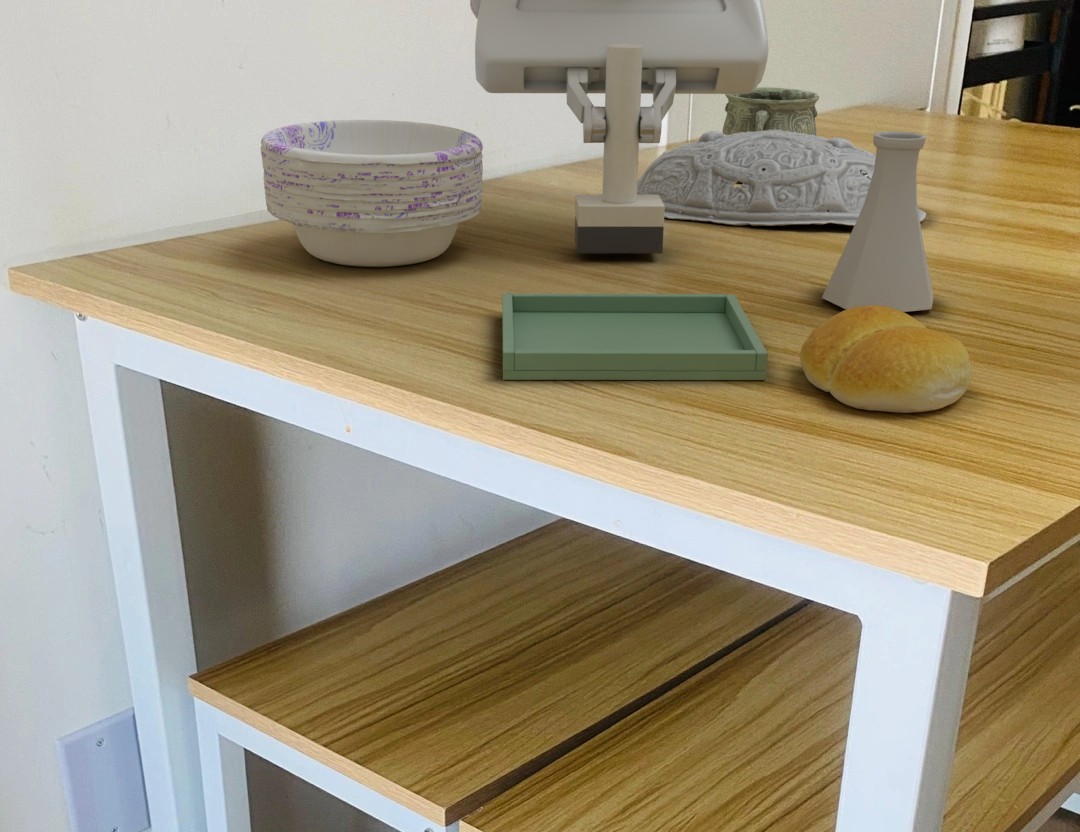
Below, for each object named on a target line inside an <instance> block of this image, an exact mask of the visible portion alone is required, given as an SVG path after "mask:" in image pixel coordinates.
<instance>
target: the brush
mask: <svg viewBox="0 0 1080 832" xmlns="http://www.w3.org/2000/svg"><path fill="white" fill-rule="evenodd" d="M642 54H643V46H642V45H638V44H609V45H607V55H606V90H605V93H604V96H605V97H604V99H605V100H604V107H605V111H606V117H605V120H606V135H605V143H603V161H602V162H603V165H602V166H603V168H602V194H575V196H574V197H575V198H574V199H575V200H574V201H575V205H574V215H575V216H574V243H575V248H576V252H577V254H662V253H663V247H664V229H665V228H664V227H665V217H664V212H665V206H664V204H663V202H662V200H661V198H660V196H659V195H637V182H638V175H639V174H638V173H639V152H640V151H639V148H640V143H639V126H640V107H641V98H642V94H641V78H642Z"/></svg>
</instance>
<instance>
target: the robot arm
mask: <svg viewBox="0 0 1080 832" xmlns="http://www.w3.org/2000/svg"><path fill="white" fill-rule="evenodd" d="M469 7H470V10H471V12H472V14H473V16H474V17H475V18H476V19H477V21H476V30H475V41H474V69H475V80H476V82H477V83H478V84H479V85H480V86H481V87H482V89H483V90H484V91H485V92H486V93H490V94H566V95H565V96H566V105H567V106H568V108H569V109H570V110H571V111H572V113H573V114H574V116H575V117H576V118H577V120H578V121H579V123H580V124H582V142H583V144H602V143H603V144H604V143H605V135H606V120H605V117H606V111H605V106H595V105H594V104H593V102H592V101H591V99H590V97H589V96H588V94H605V90H606V55H607V45H609V44H638V45H642V46H643V54H642V78H641V95H643V94H644V95H646V94H649V95H650V94H651V95H652V102H653V103H652V104H651V106H640V126H639V144H660V143H661V137H662V128H663V127H662V125H663V123H662V121H663V120H664V118H665V117H666V115H667V114H668V112H669V110H670V109H671V108H672V106H673V104H674V99H675V95H676V94H677V95H678V94H679V95H687V94H688V95H725V94H749V93H751V92H752V91H753V90H754V89H755V88H758V86H759V85H760V84H761V82H762V80H763V78H764V75H765V72H766V67H767V63H768V58H769V37H768V29H767V22H766V21H767V20H766V16H765V10H764V5H763V0H469Z"/></svg>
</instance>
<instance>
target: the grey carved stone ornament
mask: <svg viewBox="0 0 1080 832" xmlns="http://www.w3.org/2000/svg"><path fill="white" fill-rule="evenodd" d="M875 159H876V154H874V153H872V152H870V151H868V150H866V149H863V148H860V147H858V146H855V145H854V144H853V143H852V142H851V141H850V140H849V139H846V138H843V137H840V136H839V137H838V136H837V137H830V138H826V137H824V136H819V135H816V136H815V135H808V134H804V133H803V134H802V133H796V132H792V133H791V132H790V131H788V132H787V131H782V130H767V131H756V132H739V133H735V134H731V135H725V134H723V131H720V130H711V131H706V132H704V133H702V134H701V136H699V138H698V140H697V141H691V142H688V143H684V144H682V145H678V146H677V147H674V148H672V149H668V150H665V151H664V152H662V153H661V154H660V155H659V156H658V157H657V158H655V159H654V160H653V161H652V162H651V163H650V164H649V165H648V167H647V168H646V169H645V171H644V172H643V173H642V175H641V176H640V177H639V178H638V179H637V195H659V196H660V198H661V200H662V202H663V204H664V206H665V212H664V219H665V218H666V219H670V220H685V221H686V220H687V221H699V222H712V223H714V224H724V225H731V226H747V225H751V226H752V227H754V226H755V227H759V226H762V227H763V226H767V227H769V226H770V227H771V226H773V227H776V226H789V225H790V226H792V225H825V224H837V225H843V226H853V227H854V226H855V223H856V221H857V219H858V217H859V214H860V212H861V210H862V207H863V205H864V203H865V200H866V196H867V193H868V189H869V186H870V182H871V179H872V175H873V172H874V166H875ZM735 185H738V186H735ZM918 212H919V218H920V223H921V222H923V221H925V220H926V217H927V216H926V215H927V212H925V211H924V210H922V209H920V208H919V207H918Z"/></svg>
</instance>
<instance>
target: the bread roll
mask: <svg viewBox="0 0 1080 832" xmlns="http://www.w3.org/2000/svg"><path fill="white" fill-rule="evenodd" d="M799 361H800V365H801V368H802V371H803V373H804V375H805V377H806V379H807V380H808V382H810V383H811V384H812V385H813V386H814V387H815V388H817V389H819V390H821V391H823V392H826V393H830V394H831V396H833V398H834V399H836V400H837V401H839V402H840V403H842V404H843V405H846V406H848V407H851V408H854V409H859V410H866V411H871V412H873V411H875V412H888V413H898V414H899V413H900V414H912V413H913V414H915V413H926V412H930V411H936V410H939V409H943V408H945V407H947V406H950V405H952V404H954V403H956V402H957V401H958V400H959V399H960V398H961V397H962V396H963V395H965V393H966V392H967V390H968V388H969V386H970V383H971V376H972V362H971V360H970V354H969V352H968V350H967V348H966V346H965V345H964V344H963V343H962V342H961V340H959V339H957V338H955V337H953V336H951V335H948V334H946V333H944V332H941V331H938V330H934V329H930V328H927V327H926V326H925V325H924V324H922V322H920V321H919V320H918V319H916V318H914V317H912V316H911V315H909V314H908V313H906V312H902V311H899V310H896V309H893V308H890V307H886V306H878V305H869V306H859V307H853V308H850V309H844V310H842V311H840V312H838V313H836V314H835V315H833V316H832V317H829V318H828V319H826V320H825V322H823V323H821V324H820V325H818V326H817V327H816V328H815V329H813V330H812V331H811V333H809V336H807V338H806V339H805V341H804V342H803V344H802V345H801V349H800V352H799Z"/></svg>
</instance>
